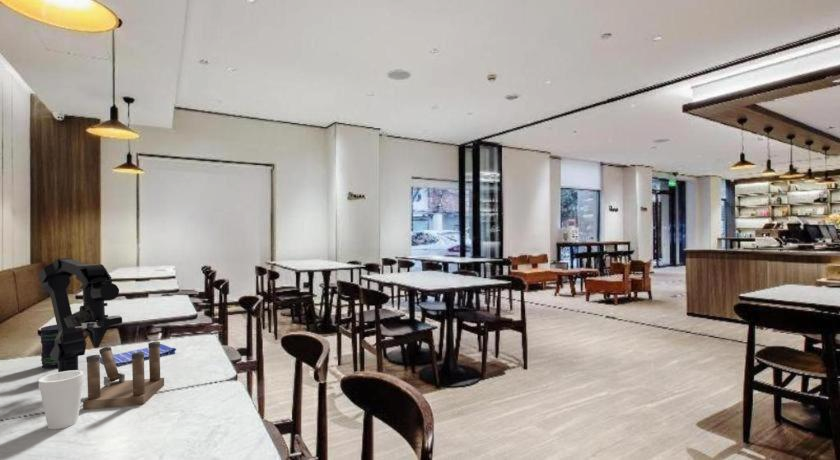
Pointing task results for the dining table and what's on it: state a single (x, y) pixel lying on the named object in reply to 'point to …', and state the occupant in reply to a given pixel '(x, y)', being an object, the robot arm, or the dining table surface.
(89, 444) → the dining table surface
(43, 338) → the storage jar
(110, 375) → the hinged leg
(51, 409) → the foam cup
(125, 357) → the dish towel
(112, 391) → the stool
